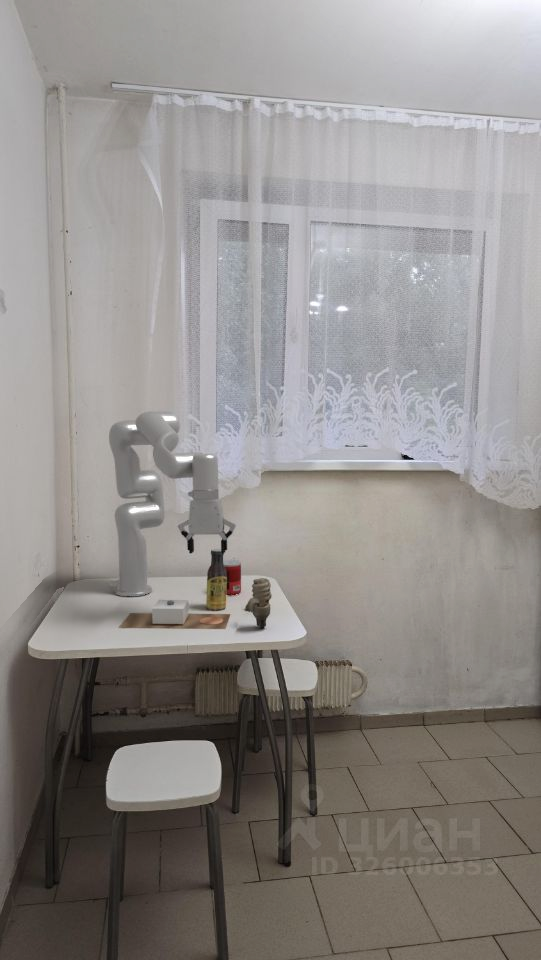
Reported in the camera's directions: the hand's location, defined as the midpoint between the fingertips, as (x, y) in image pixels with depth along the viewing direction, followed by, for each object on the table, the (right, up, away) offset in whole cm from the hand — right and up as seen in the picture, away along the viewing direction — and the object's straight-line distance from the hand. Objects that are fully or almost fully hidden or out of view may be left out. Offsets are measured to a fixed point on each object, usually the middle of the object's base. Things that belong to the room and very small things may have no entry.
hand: (207, 552), depth 194 cm
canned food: (+5, -18, +33) cm, 38 cm away
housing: (-11, -20, -1) cm, 23 cm away
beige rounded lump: (+15, -20, +13) cm, 28 cm away
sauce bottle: (+2, -20, +12) cm, 23 cm away
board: (-9, -21, -1) cm, 23 cm away
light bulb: (+16, -22, -5) cm, 27 cm away
